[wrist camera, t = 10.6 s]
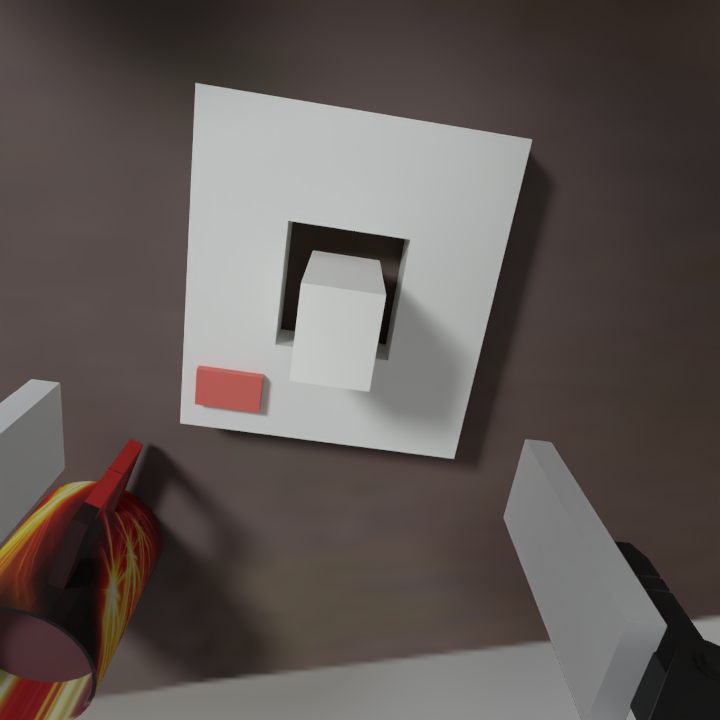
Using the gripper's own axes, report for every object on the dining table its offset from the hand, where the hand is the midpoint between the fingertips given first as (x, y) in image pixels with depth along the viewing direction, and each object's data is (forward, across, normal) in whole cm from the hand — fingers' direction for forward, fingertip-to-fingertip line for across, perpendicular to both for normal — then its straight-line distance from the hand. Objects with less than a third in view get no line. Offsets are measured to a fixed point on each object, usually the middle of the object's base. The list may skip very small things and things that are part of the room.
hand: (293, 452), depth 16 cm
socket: (+22, +1, 0) cm, 22 cm away
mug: (+22, -15, -20) cm, 33 cm away
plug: (+22, +1, -1) cm, 22 cm away
